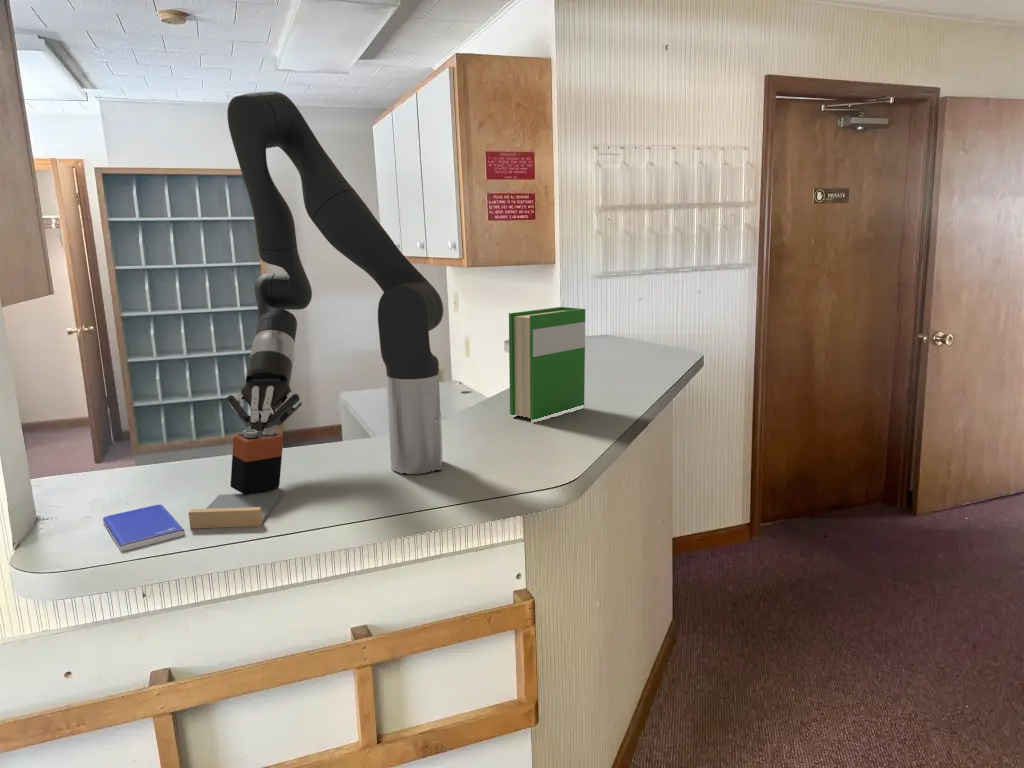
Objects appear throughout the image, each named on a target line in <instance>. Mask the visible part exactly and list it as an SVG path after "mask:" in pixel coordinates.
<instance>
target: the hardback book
mask: <svg viewBox="0 0 1024 768" xmlns="http://www.w3.org/2000/svg"><path fill="white" fill-rule="evenodd" d="M508 354H509V355H508V356H509V359H508V360H509V363H508V365H509V367H508V368H509V372H508V373H509V415H510V414H511V415H515V414H516V415H520V417H521V416H523V417H522V418H525V417H528V418H527V419H529V418H530V419H532V420H534V419H538V418H541V417H544V416H548V415H551V414H554V413H558V412H561V411H564V410H568V409H571V408H574V407H577V406H581V405H584V406H585V381H586V380H585V379H586V378H585V375H586V374H585V371H586V369H585V368H586V364H585V363H586V360H585V359H586V308H579V307H566V306H557V307H550V308H541V309H533V310H523V311H515V312H508ZM530 419H529V420H530Z"/></svg>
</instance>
